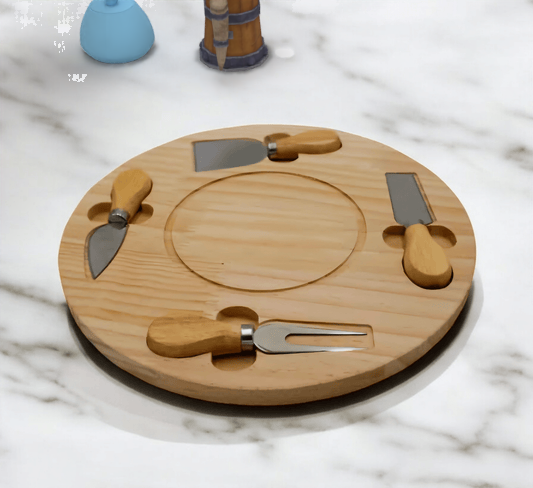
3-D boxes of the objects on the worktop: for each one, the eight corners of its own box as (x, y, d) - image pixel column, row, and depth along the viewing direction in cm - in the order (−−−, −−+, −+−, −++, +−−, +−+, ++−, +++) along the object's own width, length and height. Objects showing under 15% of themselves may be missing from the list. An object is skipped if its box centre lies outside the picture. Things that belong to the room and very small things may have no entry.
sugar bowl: (107, 26, 142) (97, -27, 134) (168, 39, 138) (162, -15, 130) (68, 58, 132) (55, 3, 124) (133, 72, 128) (124, 16, 120)
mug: (257, 88, 124) (257, -16, 110) (184, 81, 126) (174, -22, 112) (274, 40, 138) (275, -58, 124) (207, 34, 140) (201, -63, 126)
